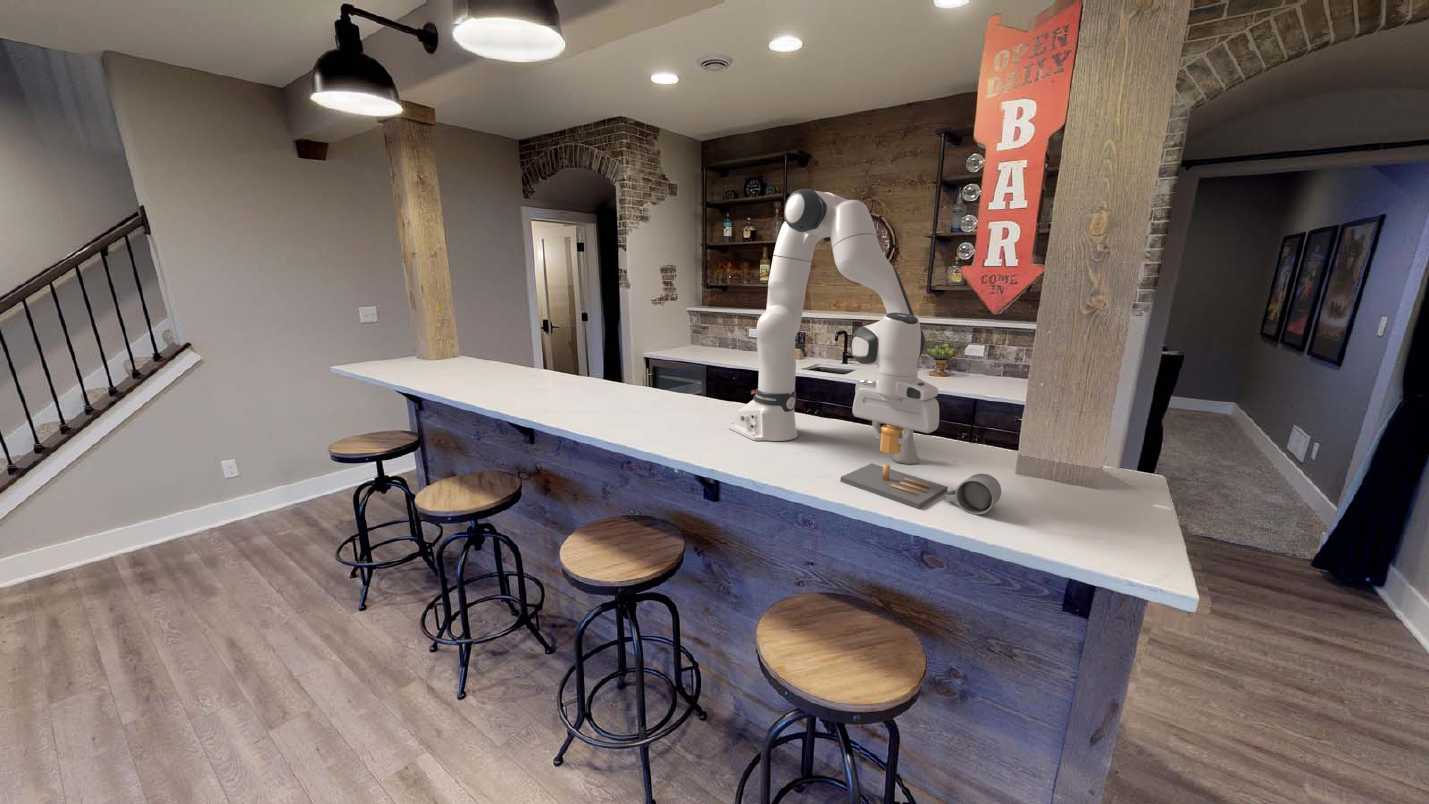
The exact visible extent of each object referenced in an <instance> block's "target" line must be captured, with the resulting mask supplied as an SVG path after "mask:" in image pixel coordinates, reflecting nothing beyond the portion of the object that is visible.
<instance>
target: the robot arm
mask: <svg viewBox="0 0 1429 804" xmlns="http://www.w3.org/2000/svg"><path fill="white" fill-rule="evenodd" d="M783 211H784V212H783V219H784V222H783V224H782V225H781V227H780V230H779V232H778V235H777V239H776V243H775V247H774V251H773V256H772V261H771V266H770V271H769V275H768V282H767V286H768V287H767V298H766V299H767V300H766V309H765V311H764V312H763V313H762V314H761V315H760V316H759V318H758V319H757V324H756V337H757V338H756V342H757V357H758V383H757V387H758V388H757V387H756V389H752V390H751V393H750V394H751V395H753V394H754V395H753V397H752V398H753V399H752V400H750V401H749V402H748V403H746V404H744V405H743V406H742V407H740V408H739V410H738V411H737V414H736V418H735V419H736V420H735V421H734V422H731V423H729V425H728V429H729V430H731V431H733V432H735V433H737V434H739V435H742V436H744V437H746V438H748V439H751V440H752V441H756V442H757V441H759V442H761V441H771V442H781V441H782V442H784V441H791V440H794V439H796V438H797V437H798V436H799V435H798V431H797V425H796V416H795V415H796V413H795V407H796V401H797V391H796V376H797V375H796V371H797V359H796V336H797V335H798V333H799V331H800V328H801V323H802V318H803V317H802V316H803V312H804V304H805V299H806V292H807V287H808V286H807V285H808V281H809V276H810V273H811V267H812V261H813V258H814V252H815V251H814V250H815V248H816V245H817V243H818V242H819V241H820V240H822V239H823V241H825V242H827V243H828V242H830V243H831V248H832V249H831V250H832V254H833V260H834V264H835V266H836V268H837V270H838V272H839V274H841V275H842V276H843V277H845V278H846V279H847V280H849V281H851V282H854V283H857V284H859V285H863V286H864V287H867V288H869V289H871V290H872V291H874V292H876V294H877V295H878V296H879V297H880V299H881V301H882V303H883V307H884V308H885V311H886V314H885V315H883V317H882V318H881V319H880V320H878V321H876V322H874V323H871V324H867V325H863V326H860V327H858V328H857V329H856V330H855V331H854V332H853V335H852V337H851V341H850V352H851V355H852V357H853V358H854V359H855V361H856V362H857V363H858V364H861V365H865V366H877V370H876V381H874V380H868V379H862V380H858V381H857V383H856V384H855V391H854V392H855V395H854V399H853V404H852V414H853V416H854V417H856V418H860V419H864V420H867V421H871V426H872V427H873V430H874V432H875V439H876V440H878V441H881V432H882V426H881V424H884V425H886V424H890V425H894V426H898V427H902V428H904V432H906V433H905V435H904V436H902V437H900V438H898V441H899V442H898V445H901V446H906V445H907V443H908V438H909V437H910V435H911V434H912V433H913V434H914V431H916V432H921V433H925V434H929V433H930V434H931V433H932V432H935V431H936V430H937V429H938V428H939V425H940V404H939V402H938V400H937V398H936V397H937V396H938V394H939V388H938V387H936V386H935V385H933V384H931V383H929V382H928V381H924V380H923V379H921V378H919V377H918V375H919V371H918V360H919V359H920V358H921V356H922V355H923V354H924V351H925V348H926V343H927V342H926V336H925V334H924V331H923V329H922V328H921V324H920V320H919V319H918V318H917V317H916V316H915V314H914V312H913V309H912V307H911V304H910V301H909V298H908V295H907V293H906V289H905V287H904V284H903V282H902V280H901V277H900V275H899V272H898V270H897V268H896V267H895V266H894V265H893V264H892V263H891V262H890V261H889V260H888V258H887V257H886V256H885V254H884V252H883V251H882V248H881V245H880V243H879V238H878V236H877V235H878V234H877V231H876V227H875V223H874V221H873V218H872V216H871V213H870V210H869V209H868V207H867V205H866V204H865V203H864V202H862V201H861V200H859V199H850V198H846V197H841V195H838V194H835V193H832V192H827V191H826V192H825V191H824V192H823V191H817V190H813V189H810V188H800V189H797V190H795V191H793V192H792V193H791V194H790V196H788V198H787V199H786V202H785V204H784V210H783Z"/></svg>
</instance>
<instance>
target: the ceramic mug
mask: <svg viewBox="0 0 1429 804" xmlns="http://www.w3.org/2000/svg"><path fill="white" fill-rule="evenodd" d="M1001 496H1002V486H1001V483H1000V482H999V481H998V479H996V477H994V476H992V475H990V474H987V473H977V474H973V475H972V476H969V477H968V478H967V479H964V480H963V481H961V482H960V483H959V484H958V486H957V488H956V489H954V490H951V491H947V492H946V493H944V497H945V500H946V502H947V503H957V504H958V506H959V507H960V508H961V509H962V510H963V511H965V512H967V513H968V514H972V515H974V516H975V515H976V516H979V515H980V516H982V515H984V514H987V513H988V512H990V511H991V510H992V508H993V507H995V505H996V504H997V503H998V501H999V500H1000V499H1001Z"/></svg>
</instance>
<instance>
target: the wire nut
mask: <svg viewBox="0 0 1429 804" xmlns="http://www.w3.org/2000/svg"><path fill="white" fill-rule="evenodd" d="M881 430H882V432H881V440H880V446H879V450H880V452H882V453H884V454H885V453H886V454H889V455H890V454H891V455H893V454H898V453H900V452H901V445H898V442H899V441H898V438H900V437H902V433H903V427H898V426H894V425H890V424H883V425H881Z"/></svg>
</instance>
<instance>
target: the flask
mask: <svg viewBox="0 0 1429 804" xmlns="http://www.w3.org/2000/svg"><path fill="white" fill-rule="evenodd" d="M902 428H903V427H902ZM905 433H906V432H904V428H903V430H902V436H904V435H905ZM891 455H892V456H891V460H893V461H894V462H896V463H899V464H904V465H905V464H907V465H913V464H914V465H915V464H919V461H920V460H919V456H918V452H917V449H916V444H915V439H914V432H913V433H912V434H911V435H910V437H909V438H908V443H907V445H906V446H901V452H900V453H898V454H891Z"/></svg>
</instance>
